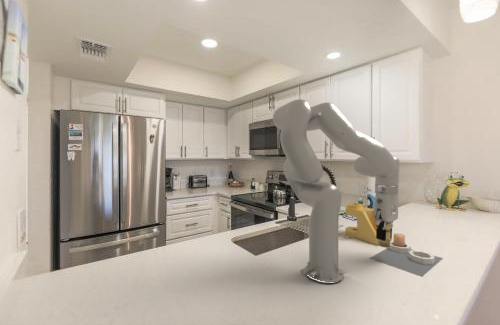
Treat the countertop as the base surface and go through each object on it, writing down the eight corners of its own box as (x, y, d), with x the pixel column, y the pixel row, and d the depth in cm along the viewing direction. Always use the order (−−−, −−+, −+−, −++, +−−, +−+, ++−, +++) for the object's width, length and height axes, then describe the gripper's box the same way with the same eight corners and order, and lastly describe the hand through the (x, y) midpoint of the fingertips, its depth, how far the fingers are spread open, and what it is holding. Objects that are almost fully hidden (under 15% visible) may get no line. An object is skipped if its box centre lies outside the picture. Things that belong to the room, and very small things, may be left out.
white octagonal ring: (429, 266, 81) (430, 260, 81) (406, 258, 87) (406, 253, 87) (436, 260, 86) (436, 255, 86) (413, 253, 92) (413, 248, 92)
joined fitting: (405, 254, 91) (405, 239, 91) (385, 248, 97) (385, 234, 97) (412, 250, 95) (413, 235, 95) (393, 244, 101) (393, 231, 101)
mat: (421, 280, 75) (422, 276, 75) (368, 261, 88) (369, 258, 88) (443, 261, 88) (443, 258, 88) (394, 247, 101) (394, 244, 101)
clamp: (341, 234, 118) (341, 203, 117) (354, 232, 122) (354, 201, 122) (378, 248, 100) (378, 212, 99) (391, 245, 104) (391, 209, 104)
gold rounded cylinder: (386, 248, 84) (388, 219, 83) (375, 244, 87) (376, 216, 87) (391, 246, 86) (393, 218, 86) (380, 242, 89) (381, 215, 89)
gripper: (386, 192, 78) (384, 246, 78) (406, 190, 88) (404, 237, 88) (364, 189, 84) (362, 239, 84) (385, 187, 94) (383, 232, 94)
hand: (383, 238), depth 86 cm, fingers closed on gold rounded cylinder, 4 cm apart
